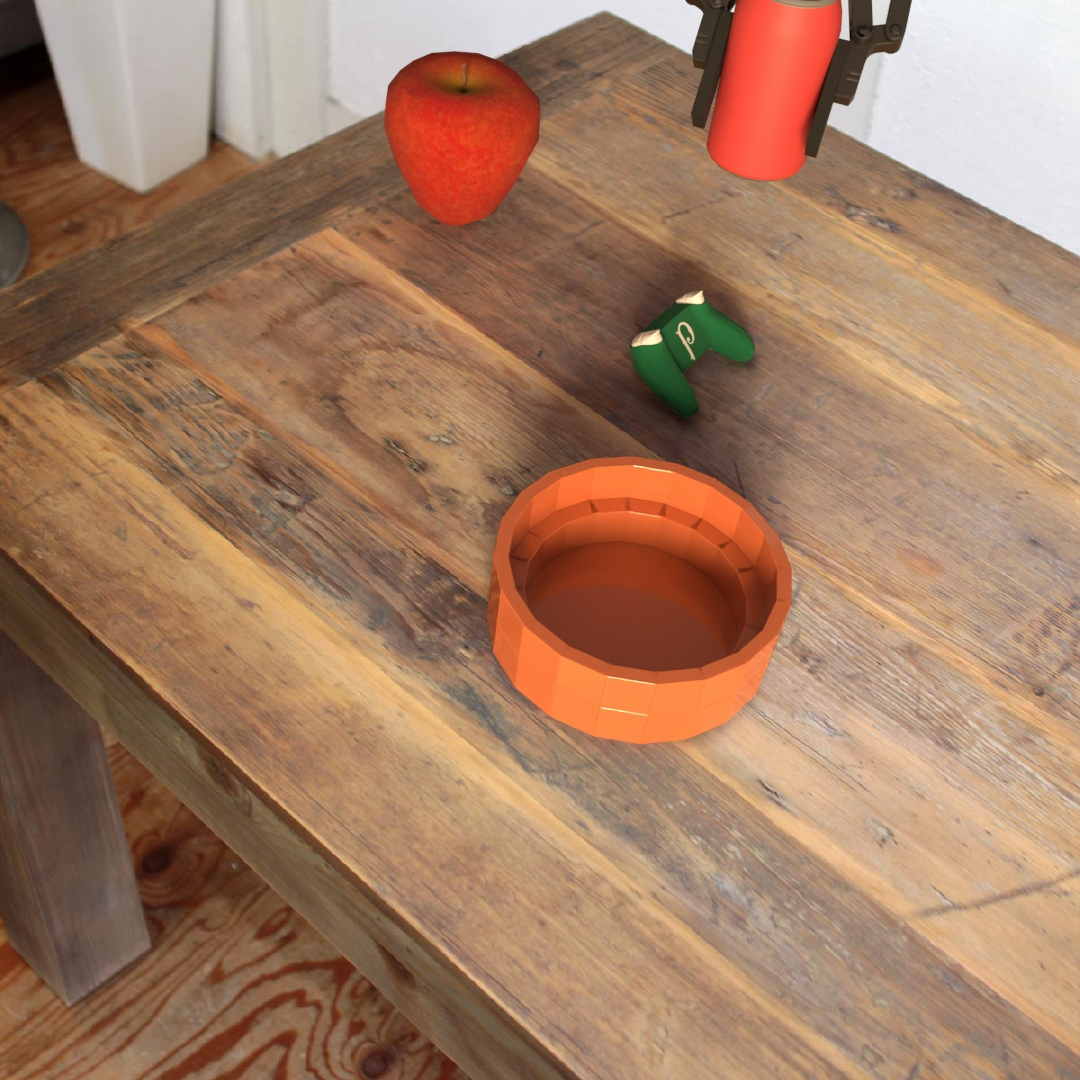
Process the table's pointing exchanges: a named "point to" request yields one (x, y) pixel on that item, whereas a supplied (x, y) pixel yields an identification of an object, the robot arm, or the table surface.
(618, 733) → the bowl
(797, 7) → the beer can
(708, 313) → the gaming controller
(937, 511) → the table surface
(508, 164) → the apple
